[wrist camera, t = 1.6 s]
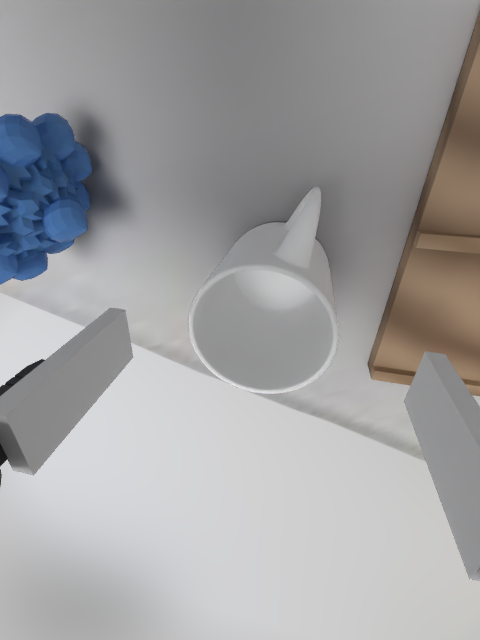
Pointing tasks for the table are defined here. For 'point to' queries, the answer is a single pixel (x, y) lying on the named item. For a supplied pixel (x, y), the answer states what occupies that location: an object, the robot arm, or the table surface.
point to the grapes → (39, 192)
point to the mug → (269, 307)
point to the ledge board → (441, 253)
